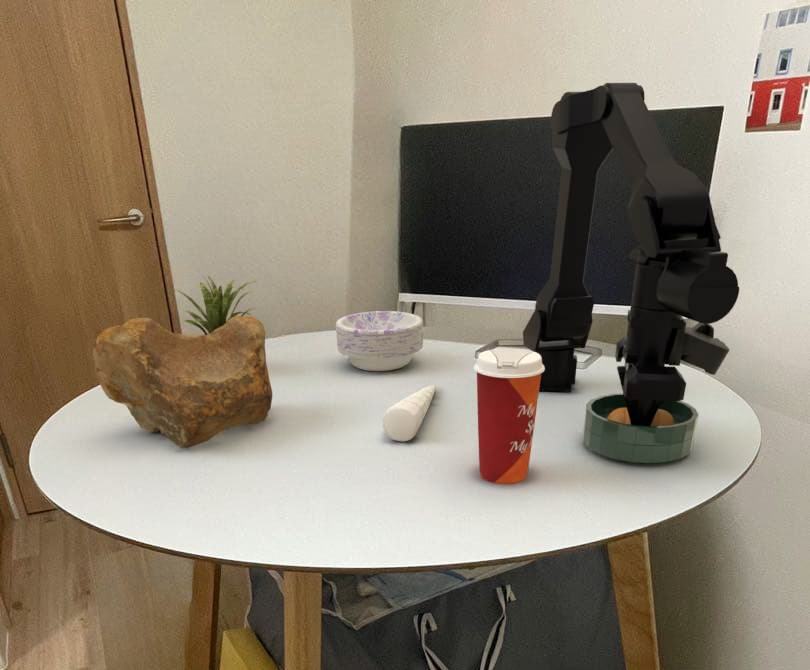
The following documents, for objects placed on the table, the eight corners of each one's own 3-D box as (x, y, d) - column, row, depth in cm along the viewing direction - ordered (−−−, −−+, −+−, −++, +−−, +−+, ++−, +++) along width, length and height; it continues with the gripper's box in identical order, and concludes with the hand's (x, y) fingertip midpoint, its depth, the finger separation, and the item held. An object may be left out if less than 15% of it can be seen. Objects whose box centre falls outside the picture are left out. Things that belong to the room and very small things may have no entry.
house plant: (289, 368, 125) (279, 271, 117) (233, 388, 115) (219, 283, 107) (231, 358, 132) (218, 265, 124) (174, 376, 122) (155, 277, 114)
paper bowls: (361, 381, 117) (359, 333, 113) (325, 361, 128) (321, 316, 125) (439, 367, 123) (439, 321, 119) (397, 349, 135) (396, 307, 131)
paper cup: (534, 490, 79) (544, 366, 72) (466, 485, 80) (470, 363, 73) (537, 463, 86) (546, 347, 79) (474, 459, 87) (478, 345, 80)
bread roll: (604, 447, 88) (608, 413, 86) (602, 434, 92) (606, 402, 90) (674, 450, 87) (680, 416, 84) (669, 437, 90) (675, 404, 88)
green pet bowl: (583, 464, 85) (588, 424, 83) (581, 426, 96) (585, 391, 94) (698, 470, 83) (706, 430, 80) (682, 431, 94) (688, 395, 92)
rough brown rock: (121, 474, 87) (98, 356, 79) (104, 423, 99) (83, 316, 91) (300, 446, 96) (296, 337, 88) (264, 403, 108) (258, 304, 100)
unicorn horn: (457, 390, 111) (458, 360, 109) (416, 445, 92) (415, 409, 89) (428, 388, 113) (428, 358, 110) (381, 441, 93) (380, 406, 91)
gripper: (749, 325, 72) (719, 466, 79) (715, 292, 88) (692, 412, 95) (636, 322, 74) (617, 460, 81) (623, 290, 90) (608, 408, 97)
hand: (637, 433), depth 89 cm, fingers closed on bread roll, 4 cm apart
